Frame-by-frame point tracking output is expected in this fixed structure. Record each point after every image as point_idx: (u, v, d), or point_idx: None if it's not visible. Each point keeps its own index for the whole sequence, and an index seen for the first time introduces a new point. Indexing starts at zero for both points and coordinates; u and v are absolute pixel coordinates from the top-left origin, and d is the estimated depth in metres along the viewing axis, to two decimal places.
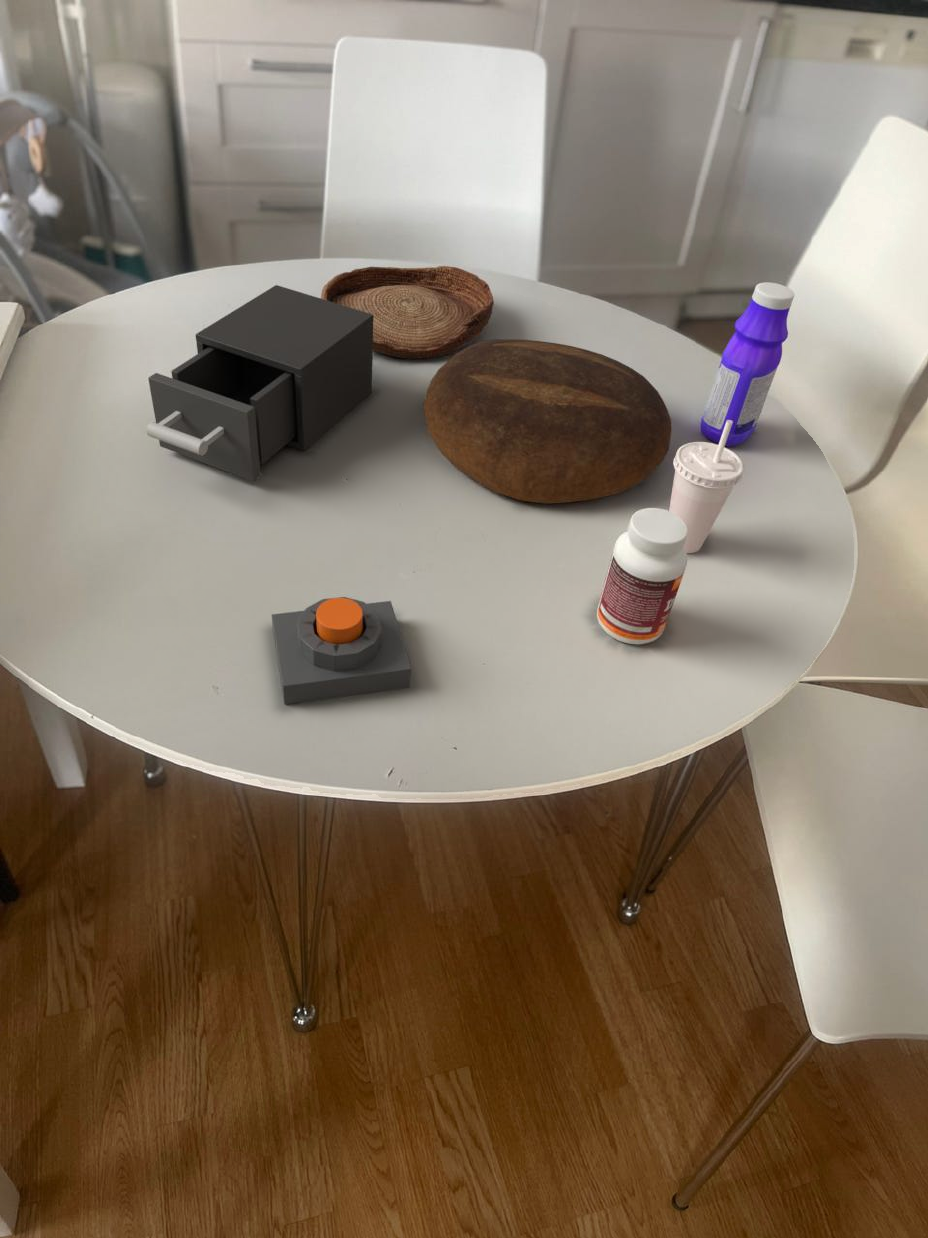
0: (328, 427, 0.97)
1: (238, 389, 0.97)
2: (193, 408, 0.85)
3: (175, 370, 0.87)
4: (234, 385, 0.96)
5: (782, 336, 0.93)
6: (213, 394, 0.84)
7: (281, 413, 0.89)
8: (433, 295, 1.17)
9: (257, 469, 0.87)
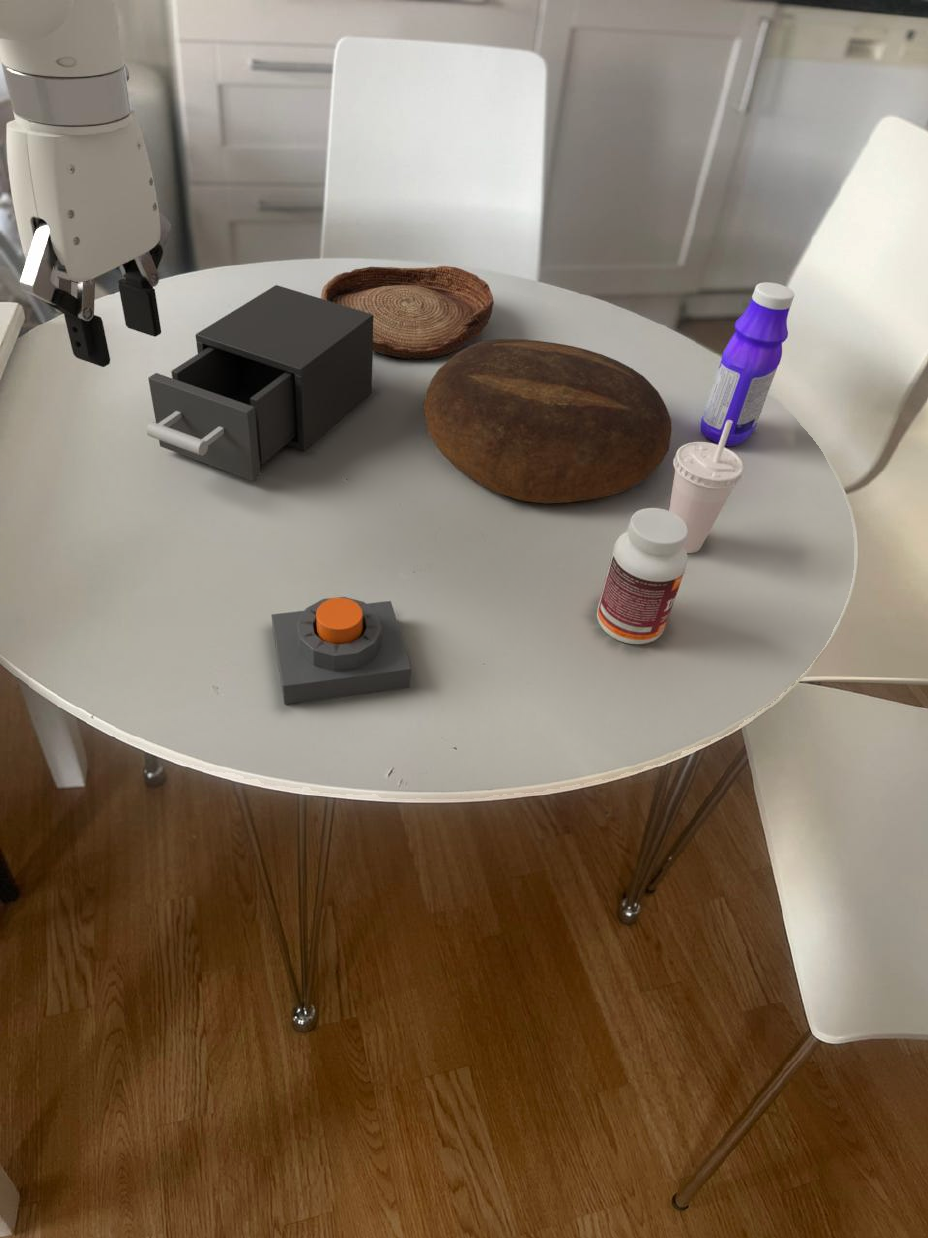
0: (328, 427, 0.97)
1: (238, 389, 0.97)
2: (193, 408, 0.85)
3: (175, 370, 0.87)
4: (234, 385, 0.96)
5: (782, 336, 0.93)
6: (213, 394, 0.84)
7: (281, 413, 0.89)
8: (433, 295, 1.17)
9: (257, 469, 0.87)
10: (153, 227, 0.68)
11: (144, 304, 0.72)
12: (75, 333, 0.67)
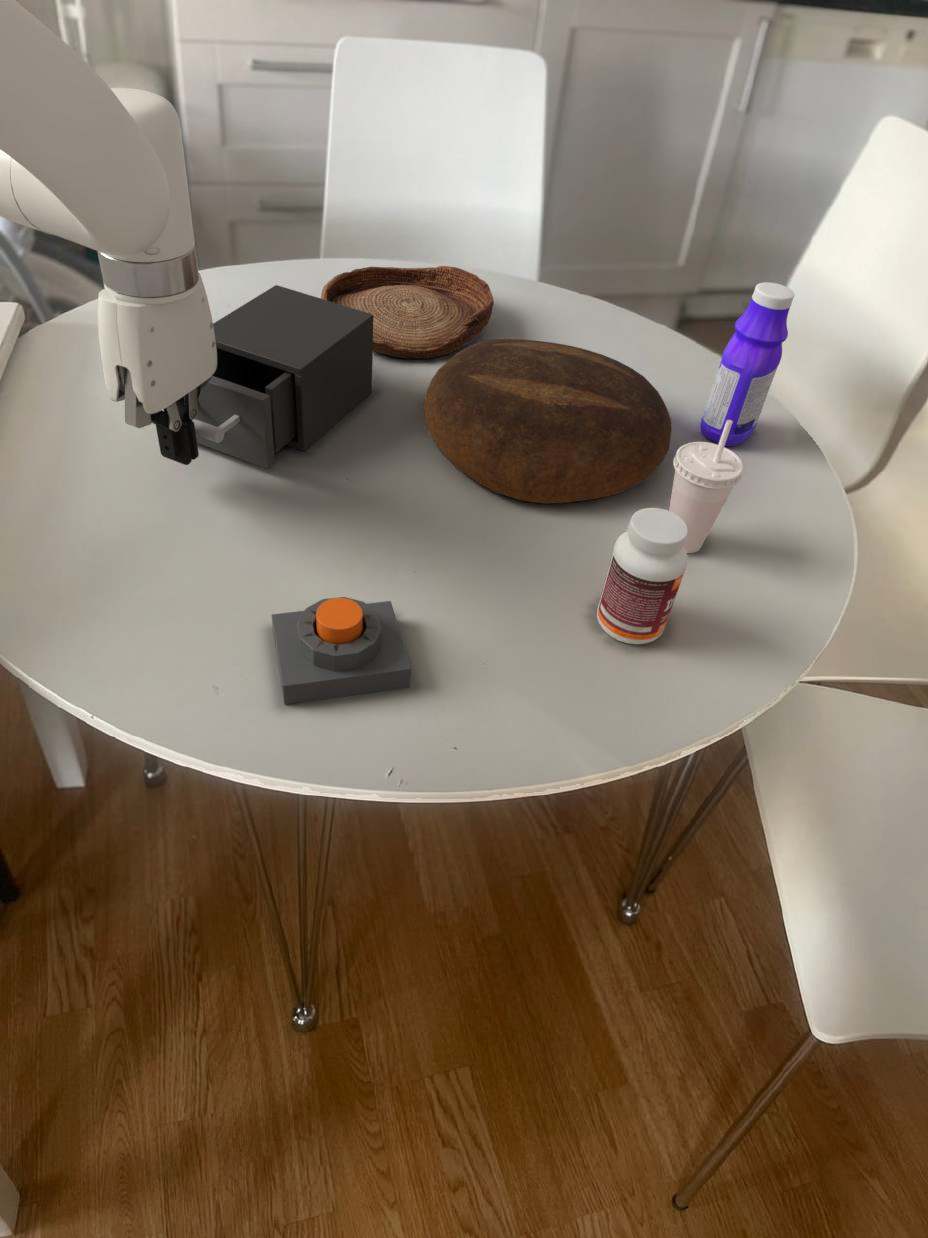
0: (328, 427, 0.97)
1: (251, 379, 0.99)
2: (209, 397, 0.87)
3: None
4: (248, 376, 0.98)
5: (782, 336, 0.93)
6: (229, 383, 0.86)
7: (295, 402, 0.91)
8: (433, 295, 1.17)
9: (271, 457, 0.89)
10: (211, 360, 0.80)
11: None
12: (165, 439, 0.82)
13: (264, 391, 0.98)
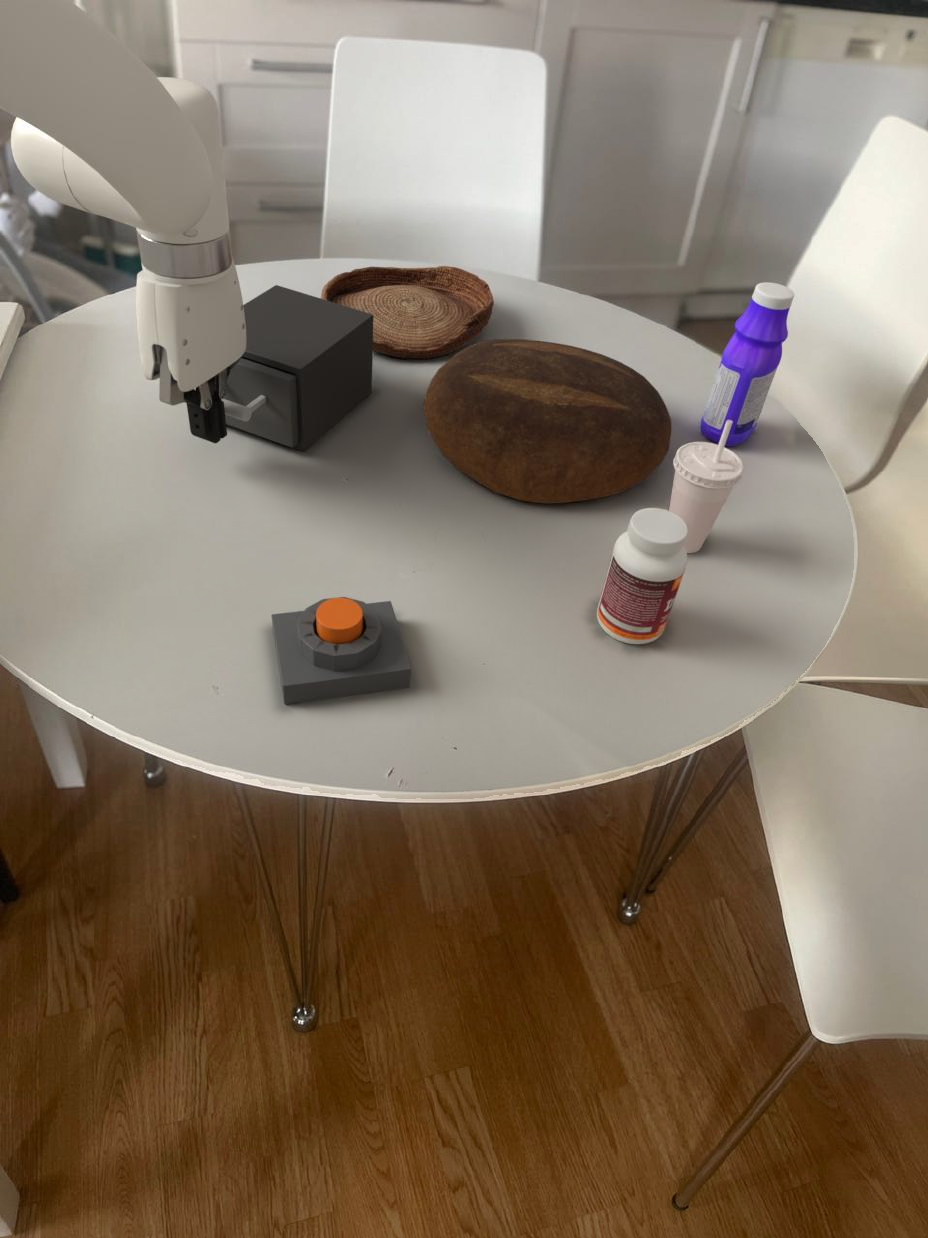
0: (328, 427, 0.97)
1: None
2: (236, 377, 0.90)
3: None
4: None
5: (782, 336, 0.93)
6: (256, 364, 0.89)
7: None
8: (433, 295, 1.17)
9: (296, 436, 0.92)
10: (241, 342, 0.83)
11: None
12: (196, 418, 0.85)
13: None
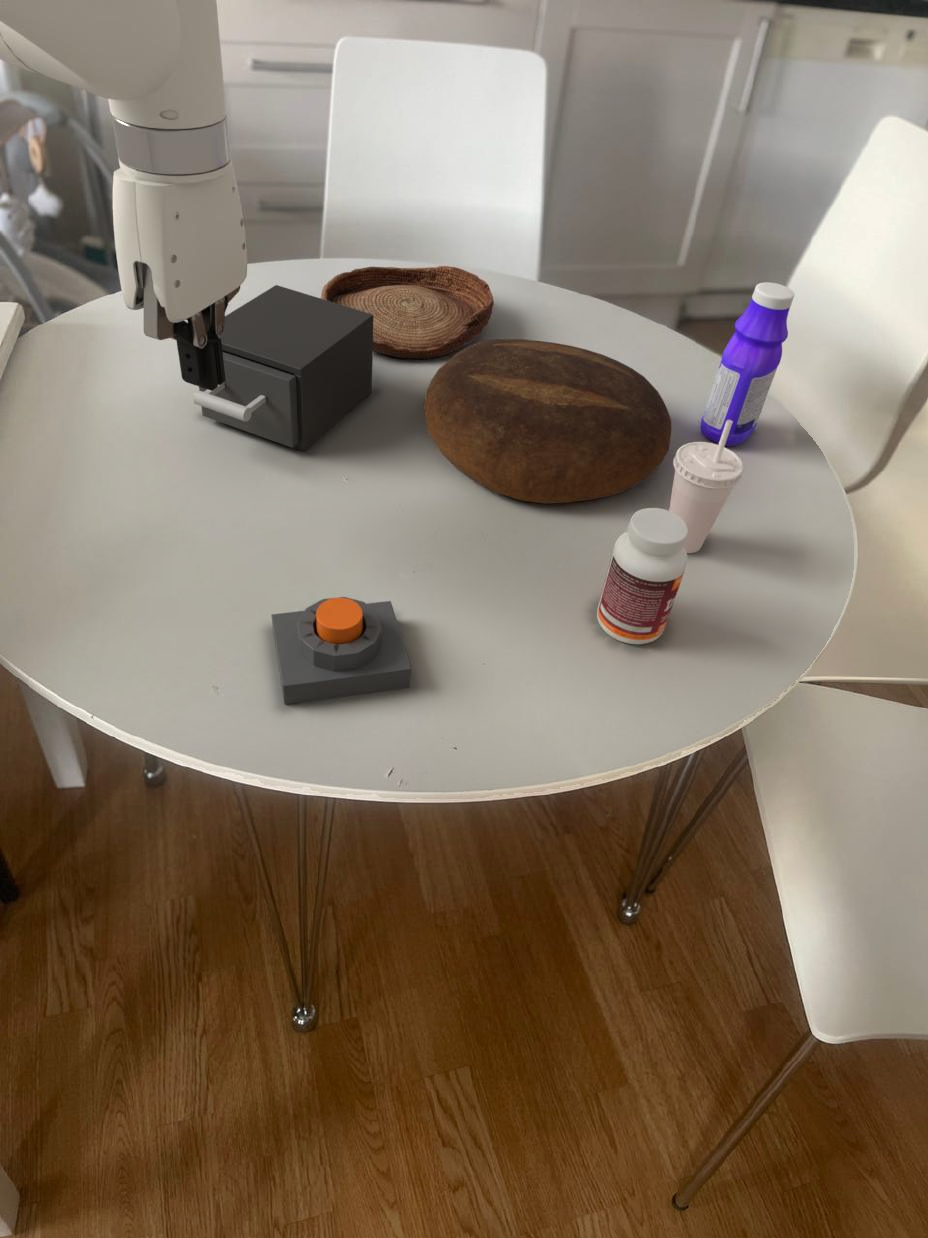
0: (328, 427, 0.97)
1: None
2: (236, 377, 0.90)
3: None
4: None
5: (782, 336, 0.93)
6: (256, 364, 0.89)
7: None
8: (433, 295, 1.17)
9: (296, 436, 0.92)
10: (241, 266, 0.69)
11: None
12: (188, 359, 0.71)
13: None
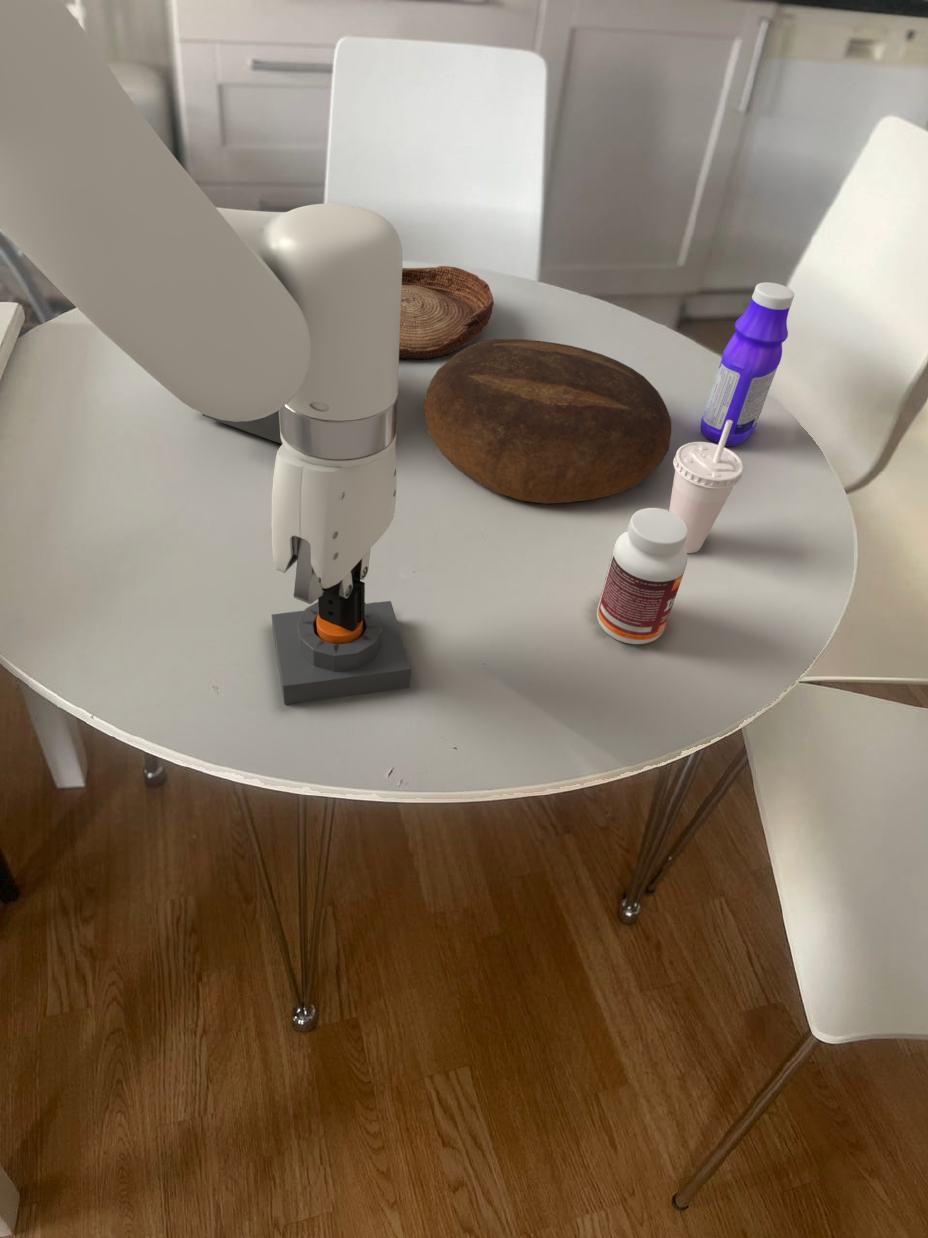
0: None
1: None
2: None
3: None
4: None
5: (782, 336, 0.93)
6: None
7: None
8: (433, 295, 1.17)
9: None
10: (390, 511, 0.65)
11: None
12: (330, 605, 0.67)
13: None
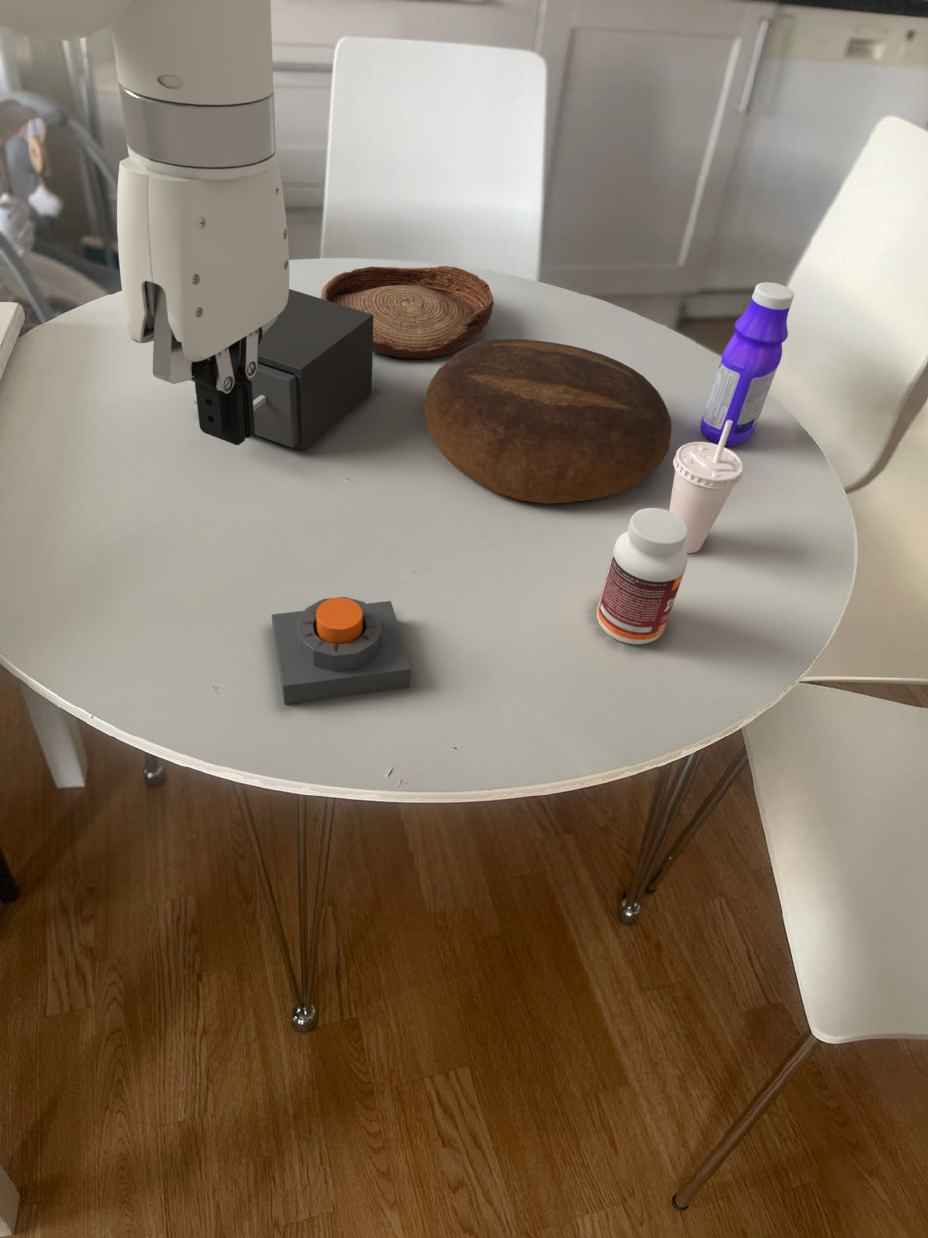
0: (328, 427, 0.97)
1: None
2: None
3: None
4: None
5: (782, 336, 0.93)
6: None
7: None
8: (433, 295, 1.17)
9: (296, 436, 0.92)
10: (282, 289, 0.54)
11: None
12: (209, 406, 0.55)
13: None
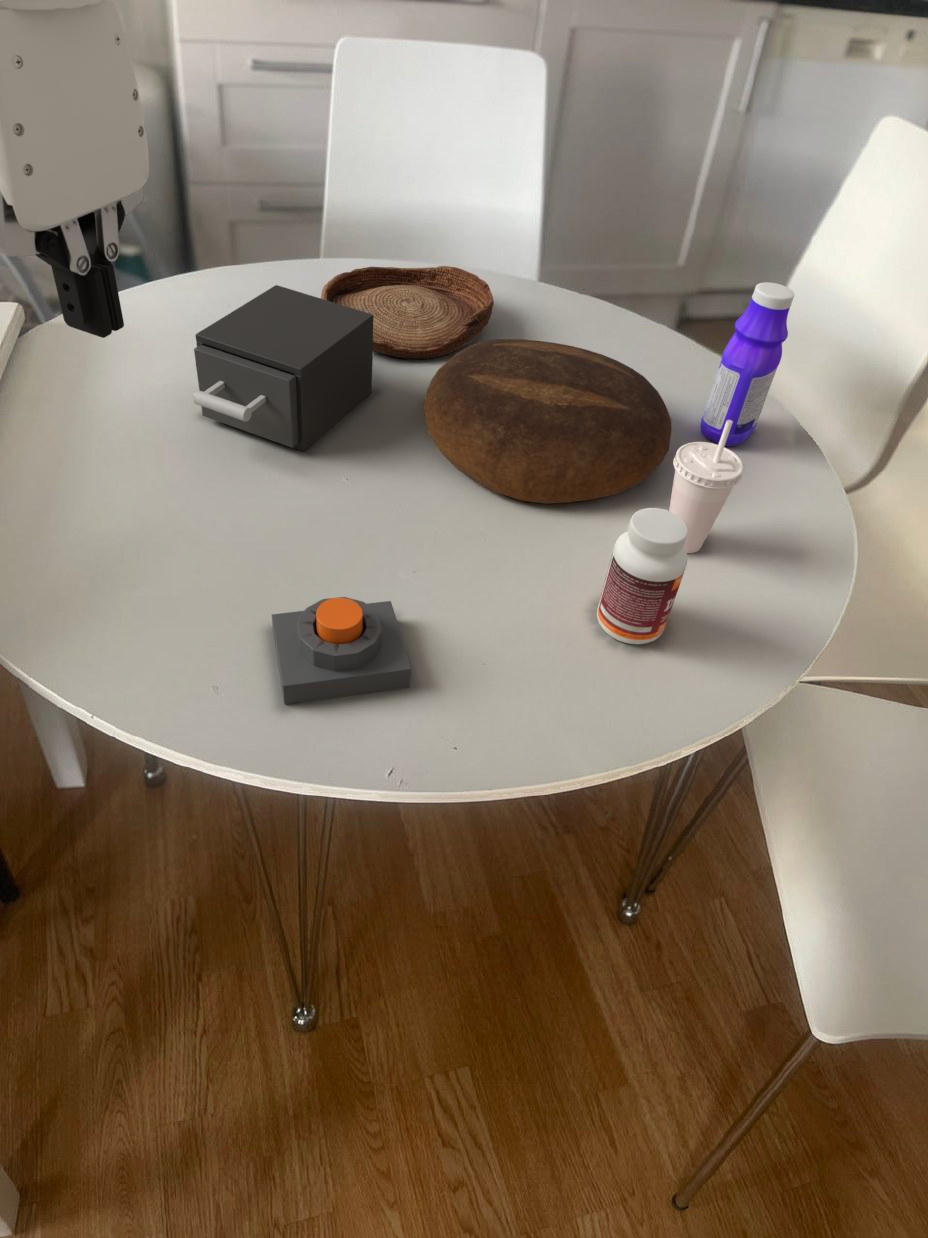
0: (328, 427, 0.97)
1: None
2: (236, 377, 0.90)
3: None
4: None
5: (782, 336, 0.93)
6: (256, 364, 0.89)
7: None
8: (433, 295, 1.17)
9: (296, 436, 0.92)
10: (139, 160, 0.50)
11: None
12: (66, 292, 0.51)
13: None
